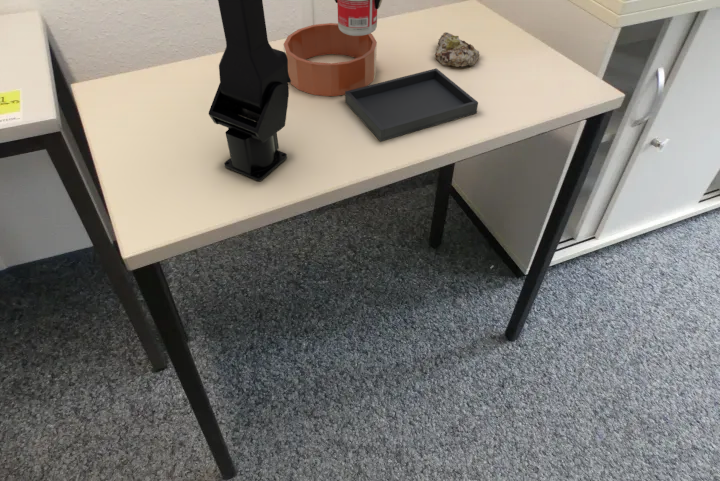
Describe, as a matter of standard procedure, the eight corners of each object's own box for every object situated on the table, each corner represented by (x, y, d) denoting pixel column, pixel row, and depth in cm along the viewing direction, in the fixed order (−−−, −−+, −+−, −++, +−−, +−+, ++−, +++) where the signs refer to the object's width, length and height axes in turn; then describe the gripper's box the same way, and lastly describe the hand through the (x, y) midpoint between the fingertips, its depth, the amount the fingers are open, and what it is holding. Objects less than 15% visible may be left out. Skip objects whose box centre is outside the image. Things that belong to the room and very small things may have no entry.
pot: (345, 105, 85) (344, 73, 81) (269, 80, 91) (265, 50, 87) (391, 65, 94) (392, 35, 90) (319, 45, 100) (318, 16, 96)
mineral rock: (492, 54, 92) (451, 46, 89) (482, 77, 95) (442, 71, 92) (468, 30, 100) (431, 22, 97) (460, 52, 102) (423, 45, 100)
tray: (380, 141, 78) (380, 130, 76) (345, 102, 86) (344, 91, 84) (476, 113, 83) (478, 102, 82) (435, 78, 91) (436, 68, 89)
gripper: (441, -122, 73) (430, -6, 84) (317, -133, 78) (322, -21, 89) (419, -103, 66) (410, 22, 77) (284, -116, 70) (294, 4, 81)
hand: (357, 5), depth 81 cm, fingers closed on pill bottle, 6 cm apart
